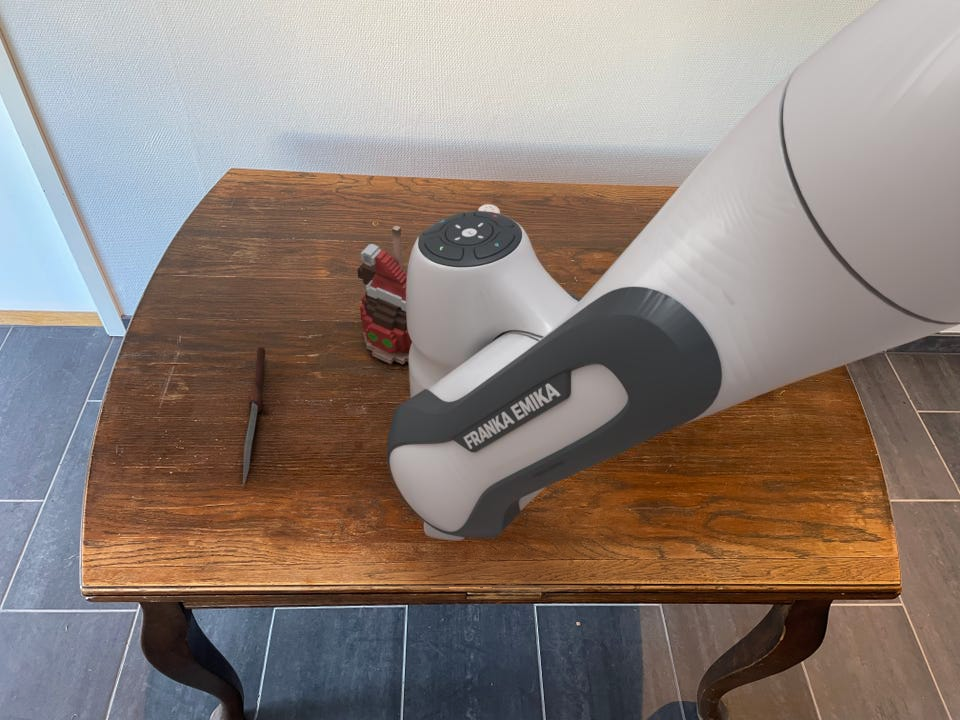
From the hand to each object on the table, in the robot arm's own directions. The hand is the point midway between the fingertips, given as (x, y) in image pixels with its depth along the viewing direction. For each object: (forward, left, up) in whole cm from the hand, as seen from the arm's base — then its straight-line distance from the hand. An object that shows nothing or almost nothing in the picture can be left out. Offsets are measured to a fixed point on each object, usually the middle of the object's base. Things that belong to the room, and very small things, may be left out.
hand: (459, 470), depth 68 cm
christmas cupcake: (+22, +10, -7) cm, 26 cm away
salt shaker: (+36, +1, -7) cm, 37 cm away
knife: (+7, +24, -7) cm, 26 cm away
